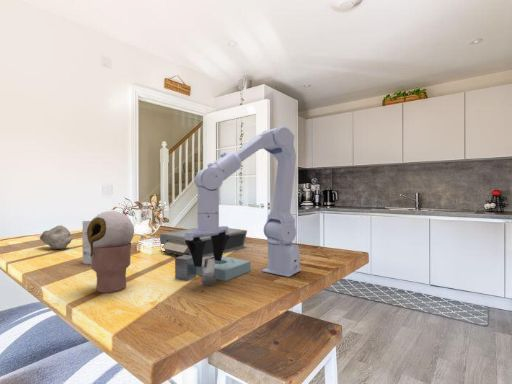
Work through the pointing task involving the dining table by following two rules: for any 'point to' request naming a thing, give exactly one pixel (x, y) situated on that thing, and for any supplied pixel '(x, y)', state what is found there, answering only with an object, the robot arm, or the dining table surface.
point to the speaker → (177, 245)
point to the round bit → (208, 270)
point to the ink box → (86, 244)
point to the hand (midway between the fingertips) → (208, 263)
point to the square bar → (184, 268)
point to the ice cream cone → (110, 249)
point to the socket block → (228, 268)
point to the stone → (57, 237)
